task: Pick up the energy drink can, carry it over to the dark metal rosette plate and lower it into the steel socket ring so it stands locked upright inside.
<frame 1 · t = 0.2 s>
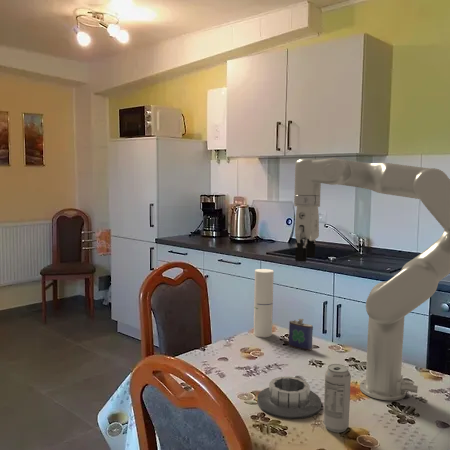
hand: (305, 258, 143), 36 cm above the table, tool pointing down, fingers open, 9 cm apart
energy drink can: (335, 427, 117), on the table
flask: (299, 348, 172), on the table
rosette socket: (288, 403, 130), on the table
cylindrical container: (262, 334, 186), on the table
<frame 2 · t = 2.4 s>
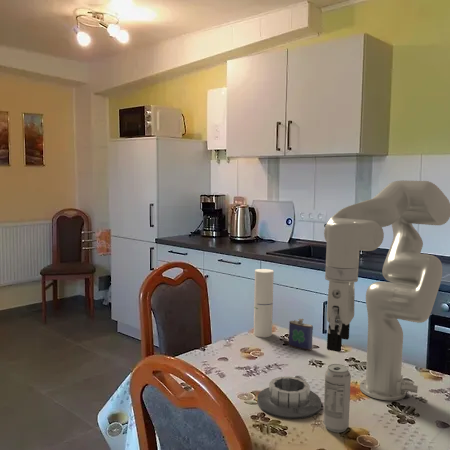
hand: (338, 344, 115), 21 cm above the table, tool pointing down, fingers open, 9 cm apart
nothing on the table moved.
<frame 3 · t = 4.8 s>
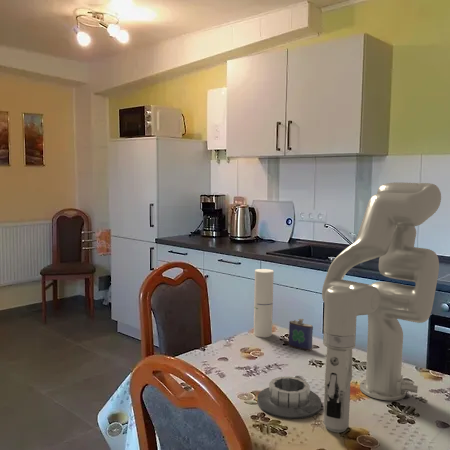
hand: (336, 410, 117), 4 cm above the table, tool pointing down, fingers closed on energy drink can, 6 cm apart
energy drink can: (335, 427, 117), on the table, touching gripper
everything else where it was.
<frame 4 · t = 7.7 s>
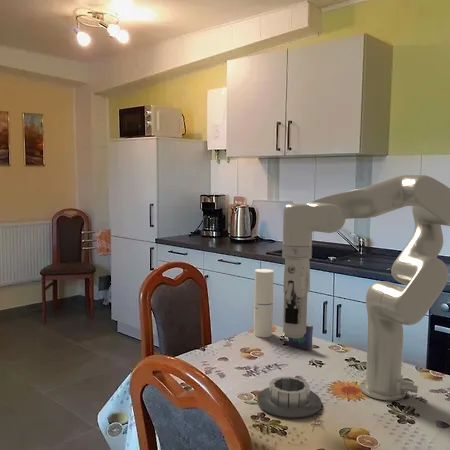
hand: (294, 319, 126), 24 cm above the table, tool pointing down, fingers closed on energy drink can, 6 cm apart
energy drink can: (294, 335, 127), point 19 cm above the table, touching gripper
everything else where it was.
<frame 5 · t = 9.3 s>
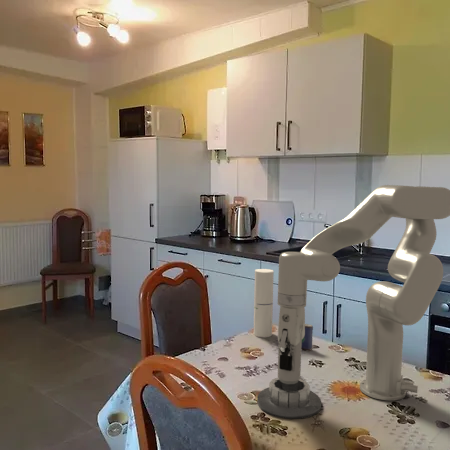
hand: (289, 364, 128), 11 cm above the table, tool pointing down, fingers closed on energy drink can, 6 cm apart
energy drink can: (288, 380, 129), point 6 cm above the table, touching gripper
everything else where it was.
when the fingers open (7 cm above the table, at t = 10.6 s): energy drink can drops 1 cm, resting on rosette socket.
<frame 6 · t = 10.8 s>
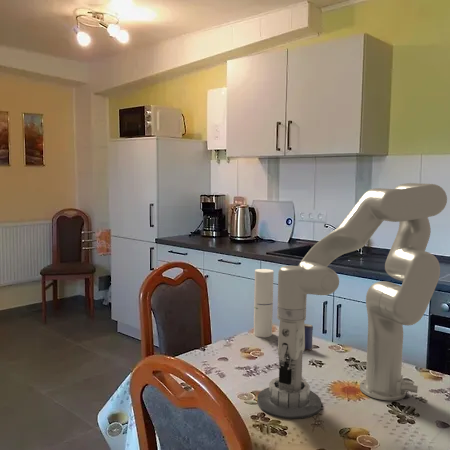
hand: (289, 376, 129), 7 cm above the table, tool pointing down, fingers open, 7 cm apart
energy drink can: (289, 399, 130), point 1 cm above the table, touching rosette socket
everything else where it was.
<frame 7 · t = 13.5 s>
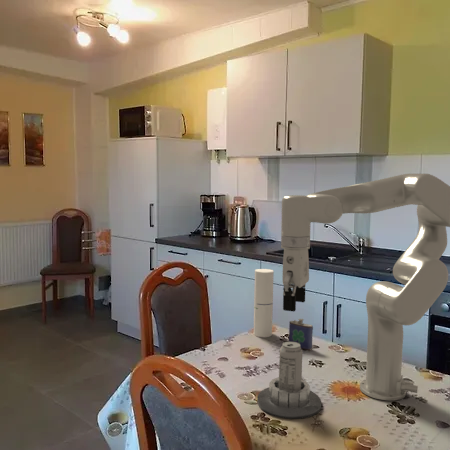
hand: (294, 306, 128), 26 cm above the table, tool pointing down, fingers open, 9 cm apart
nothing on the table moved.
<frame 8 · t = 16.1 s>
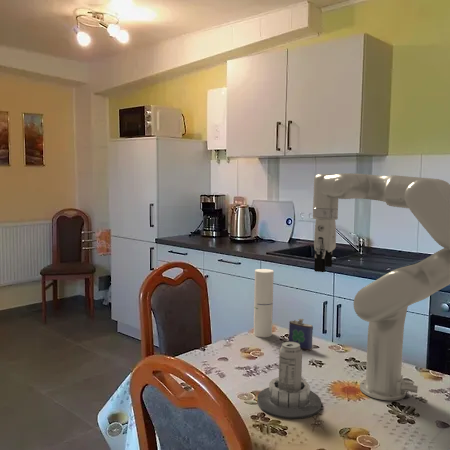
hand: (323, 268, 150), 32 cm above the table, tool pointing down, fingers open, 9 cm apart
nothing on the table moved.
at the end: energy drink can 0.3 cm off-centre on the rosette socket, point 1.0 cm above the rosette socket's base; energy drink can tilted 0°; the gripper is holding nothing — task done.
